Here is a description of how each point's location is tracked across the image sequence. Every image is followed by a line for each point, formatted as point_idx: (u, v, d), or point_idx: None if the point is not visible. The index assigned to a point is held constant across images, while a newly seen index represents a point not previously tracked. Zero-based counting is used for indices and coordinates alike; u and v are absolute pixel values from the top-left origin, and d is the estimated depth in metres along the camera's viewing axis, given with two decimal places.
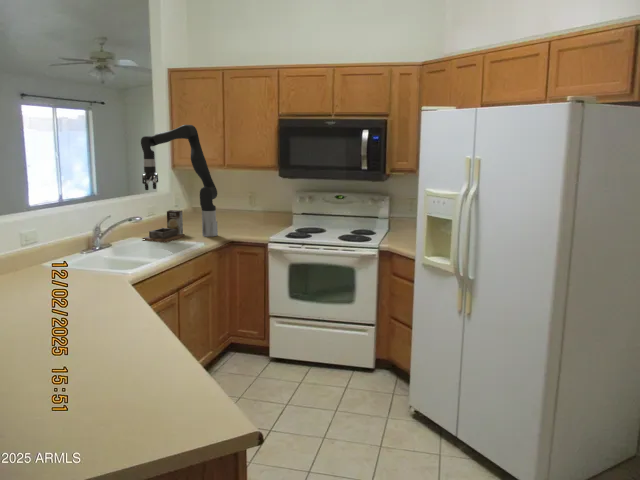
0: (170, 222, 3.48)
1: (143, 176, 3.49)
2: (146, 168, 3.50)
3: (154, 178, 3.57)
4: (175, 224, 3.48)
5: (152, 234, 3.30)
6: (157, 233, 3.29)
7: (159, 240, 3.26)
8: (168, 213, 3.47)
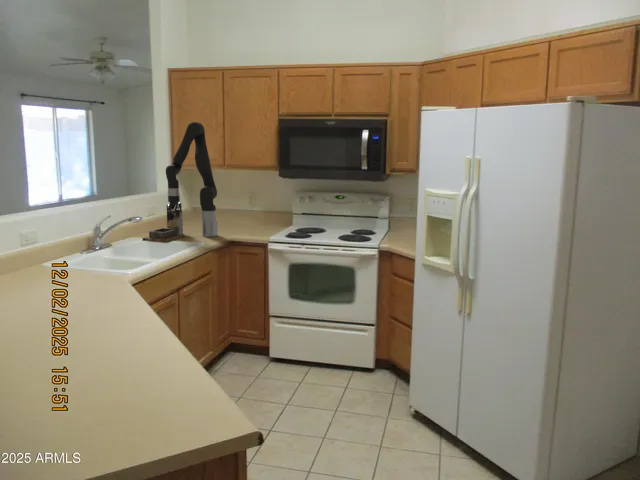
0: (170, 222, 3.48)
1: (167, 206, 3.42)
2: (170, 197, 3.44)
3: (178, 207, 3.51)
4: (175, 224, 3.48)
5: (152, 234, 3.30)
6: (157, 233, 3.29)
7: (159, 240, 3.26)
8: None
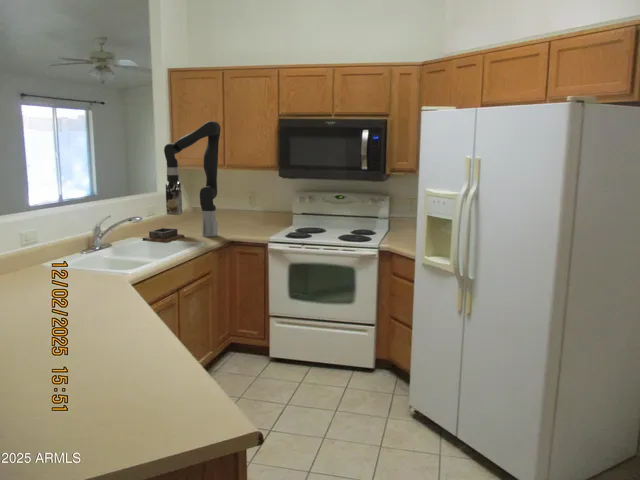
0: (169, 201, 3.45)
1: (166, 185, 3.40)
2: (169, 177, 3.41)
3: (177, 187, 3.48)
4: (174, 204, 3.45)
5: (152, 234, 3.30)
6: (157, 233, 3.29)
7: (159, 240, 3.26)
8: (167, 193, 3.44)
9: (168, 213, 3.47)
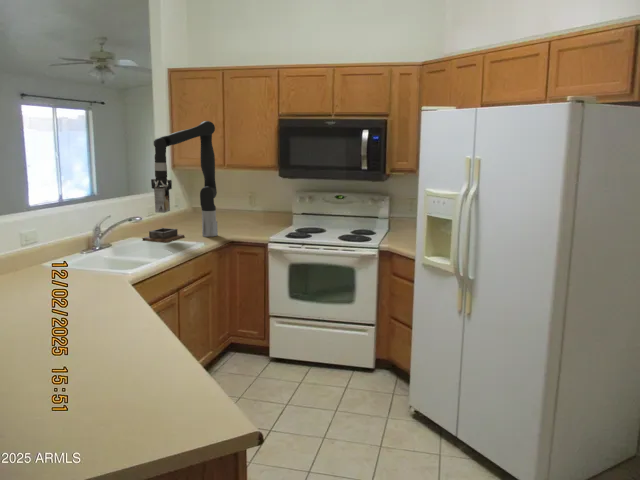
0: None
1: None
2: None
3: (163, 184, 3.28)
4: None
5: (152, 234, 3.30)
6: (157, 233, 3.29)
7: (159, 240, 3.26)
8: None
9: None
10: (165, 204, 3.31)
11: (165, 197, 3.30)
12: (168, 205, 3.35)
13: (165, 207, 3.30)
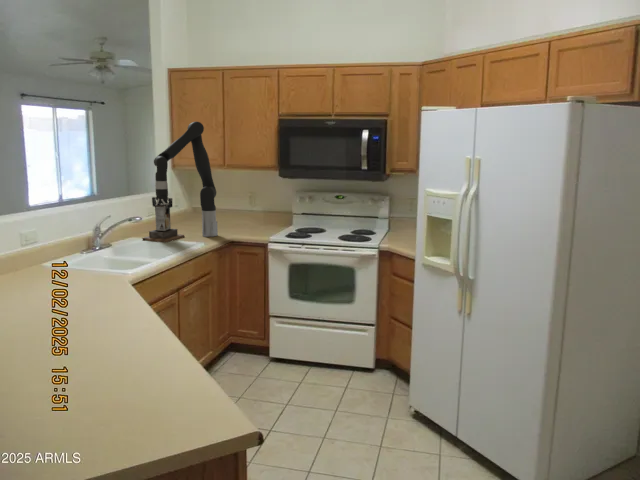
0: None
1: None
2: None
3: (163, 202, 3.30)
4: None
5: (152, 234, 3.30)
6: (157, 233, 3.29)
7: (159, 240, 3.26)
8: None
9: None
10: (166, 222, 3.33)
11: (166, 215, 3.32)
12: (169, 223, 3.37)
13: (166, 225, 3.33)
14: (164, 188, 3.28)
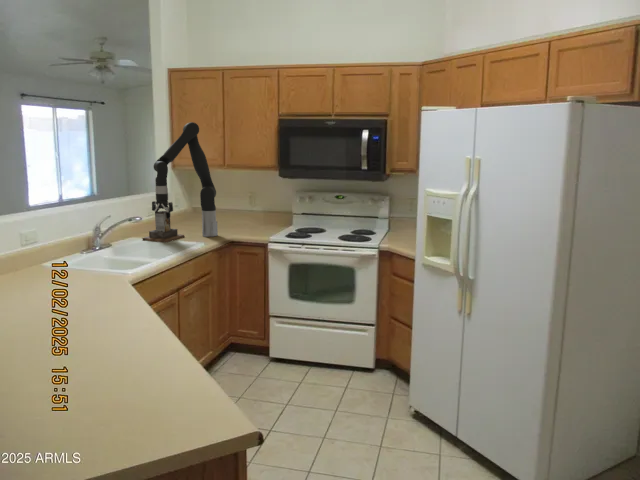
0: None
1: None
2: None
3: (164, 206, 3.31)
4: None
5: (152, 234, 3.30)
6: (157, 233, 3.29)
7: (159, 240, 3.26)
8: None
9: None
10: (166, 229, 3.33)
11: (166, 222, 3.32)
12: (169, 229, 3.38)
13: None
14: (164, 193, 3.28)
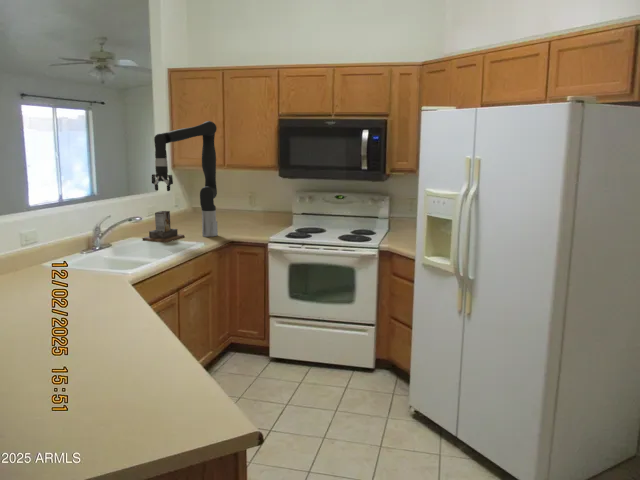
0: None
1: None
2: None
3: (164, 179, 3.31)
4: None
5: (152, 234, 3.30)
6: (157, 233, 3.29)
7: (159, 240, 3.26)
8: None
9: None
10: (166, 229, 3.33)
11: (166, 222, 3.32)
12: (169, 229, 3.38)
13: None
14: (164, 165, 3.29)
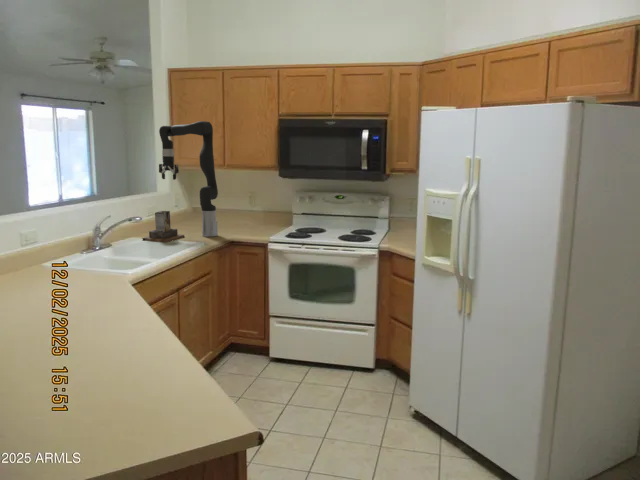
0: None
1: None
2: None
3: (170, 168, 3.54)
4: None
5: (152, 234, 3.30)
6: (157, 233, 3.29)
7: (159, 240, 3.26)
8: None
9: None
10: (166, 229, 3.33)
11: (166, 222, 3.32)
12: (169, 229, 3.38)
13: None
14: (170, 155, 3.52)
